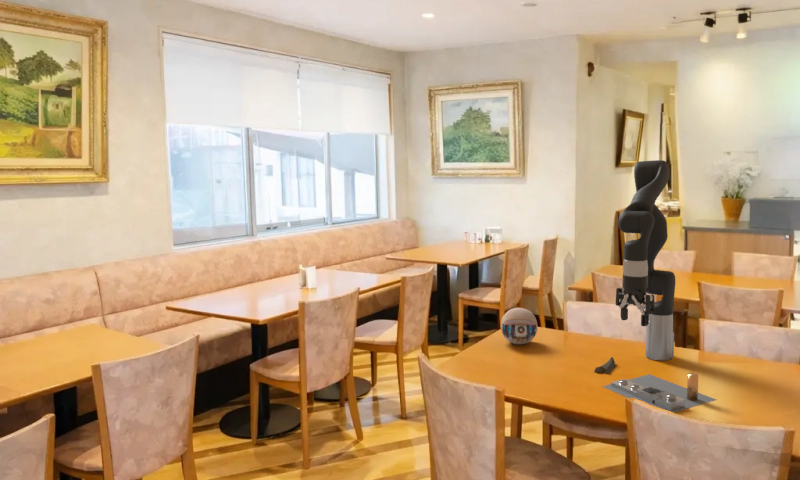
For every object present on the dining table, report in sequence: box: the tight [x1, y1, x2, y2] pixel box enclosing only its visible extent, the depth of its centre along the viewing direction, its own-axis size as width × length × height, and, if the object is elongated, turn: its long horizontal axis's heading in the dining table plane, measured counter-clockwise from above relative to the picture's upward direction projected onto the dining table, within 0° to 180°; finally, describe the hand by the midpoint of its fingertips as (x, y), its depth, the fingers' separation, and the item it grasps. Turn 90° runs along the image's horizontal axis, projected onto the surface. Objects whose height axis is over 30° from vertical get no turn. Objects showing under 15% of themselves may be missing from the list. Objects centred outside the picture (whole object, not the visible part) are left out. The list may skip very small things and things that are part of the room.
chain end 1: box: [610, 378, 655, 403], centre depth 198 cm, size 6×17×2 cm, turn 26°
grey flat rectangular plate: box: [601, 374, 717, 414], centre depth 197 cm, size 22×26×1 cm
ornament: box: [500, 307, 538, 345], centre depth 253 cm, size 15×15×15 cm
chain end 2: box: [636, 386, 685, 411], centre depth 190 cm, size 6×13×3 cm, turn 26°
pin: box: [686, 372, 699, 401], centre depth 191 cm, size 3×3×8 cm
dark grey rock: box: [593, 356, 616, 375], centre depth 220 cm, size 13×5×4 cm, turn 136°
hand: (634, 322), depth 198 cm, fingers open, 8 cm apart
